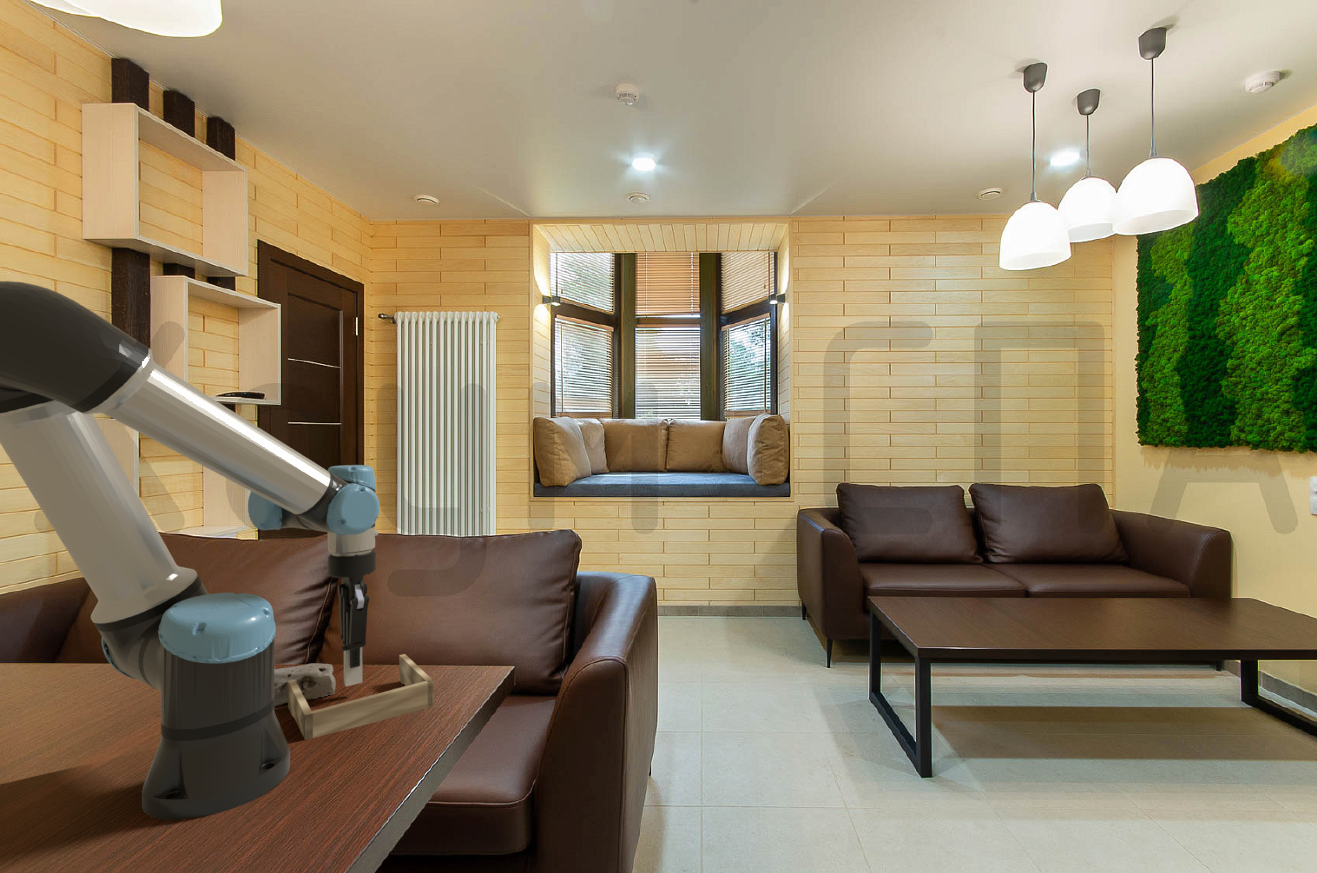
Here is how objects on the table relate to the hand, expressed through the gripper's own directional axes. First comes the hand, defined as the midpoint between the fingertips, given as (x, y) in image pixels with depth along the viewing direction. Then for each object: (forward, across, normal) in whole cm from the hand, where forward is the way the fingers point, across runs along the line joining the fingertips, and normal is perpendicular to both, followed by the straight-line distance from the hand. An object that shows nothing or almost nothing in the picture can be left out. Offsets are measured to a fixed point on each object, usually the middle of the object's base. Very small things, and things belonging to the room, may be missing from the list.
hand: (353, 683), depth 104 cm
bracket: (+3, -6, 0) cm, 7 cm away
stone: (0, +1, +7) cm, 7 cm away
